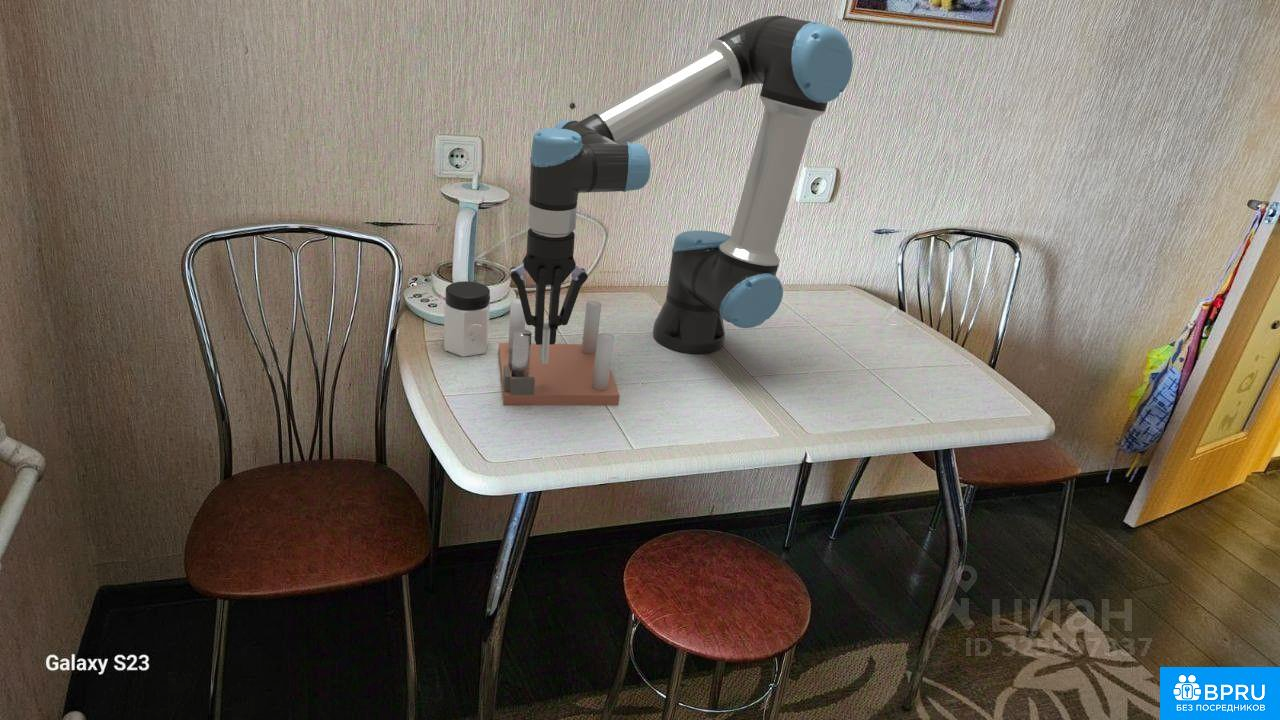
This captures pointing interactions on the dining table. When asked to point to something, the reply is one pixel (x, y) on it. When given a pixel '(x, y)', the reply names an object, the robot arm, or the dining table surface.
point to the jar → (466, 318)
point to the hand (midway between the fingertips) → (543, 360)
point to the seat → (562, 367)
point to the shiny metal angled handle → (520, 353)
